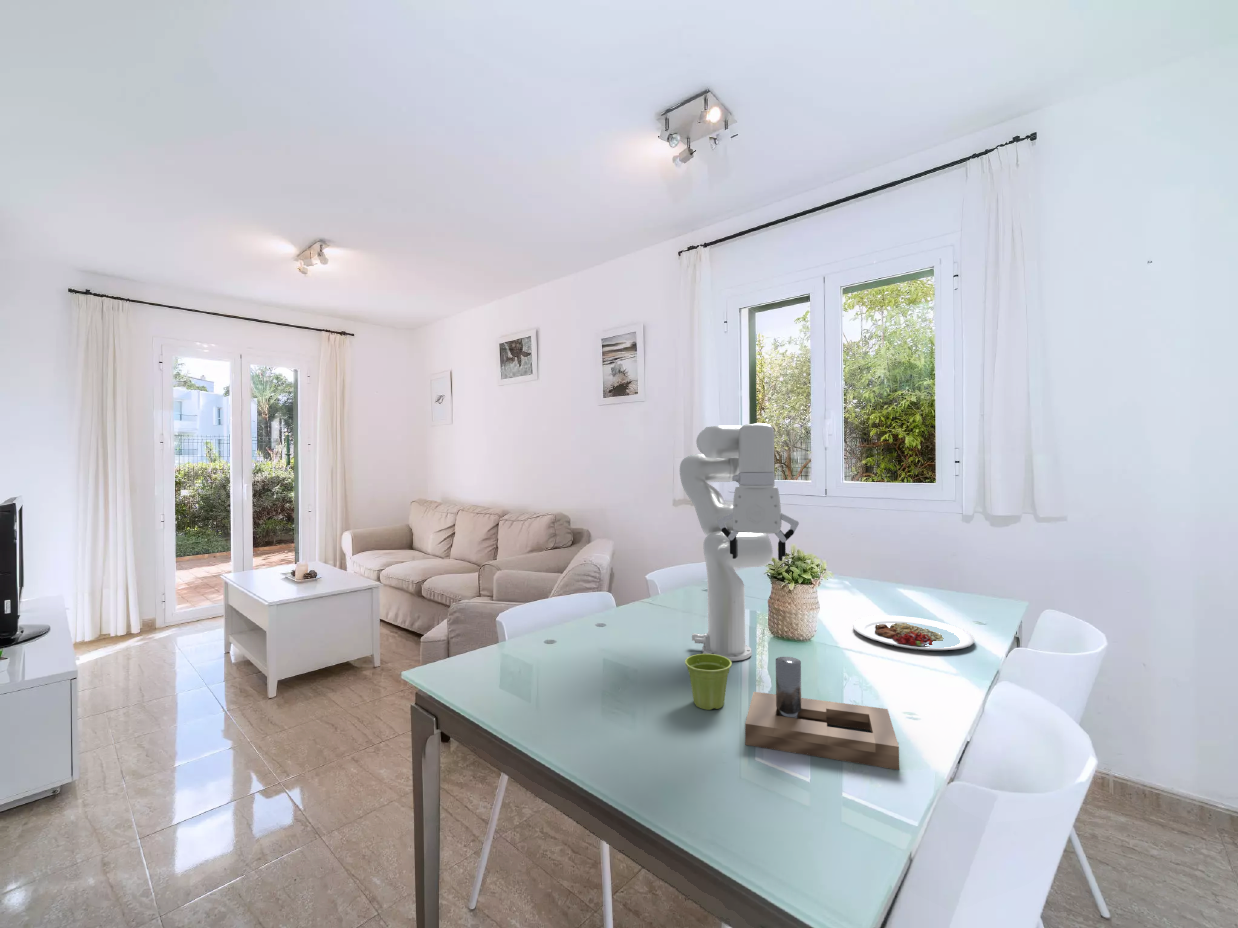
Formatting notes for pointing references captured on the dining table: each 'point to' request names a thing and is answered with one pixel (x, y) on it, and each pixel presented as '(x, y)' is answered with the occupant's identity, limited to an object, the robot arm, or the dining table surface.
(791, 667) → the peg
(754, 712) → the keyhole plate
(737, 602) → the robot arm
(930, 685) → the dining table surface
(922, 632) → the plated food
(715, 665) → the plant pot
